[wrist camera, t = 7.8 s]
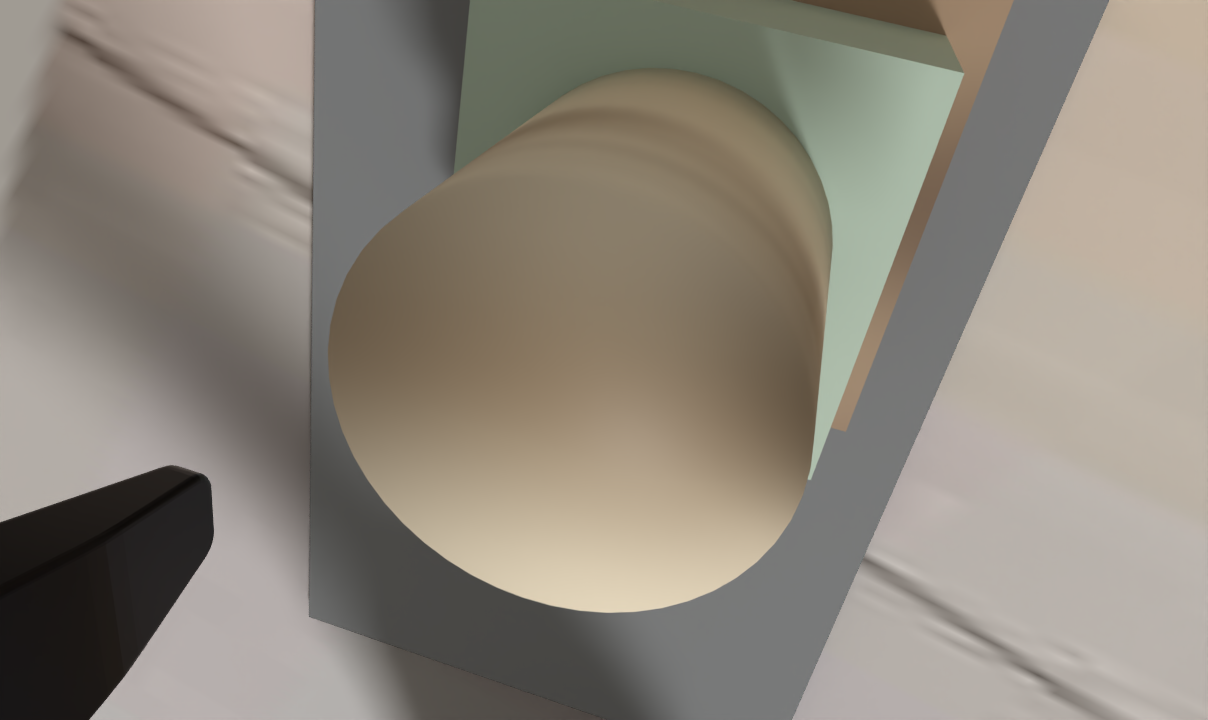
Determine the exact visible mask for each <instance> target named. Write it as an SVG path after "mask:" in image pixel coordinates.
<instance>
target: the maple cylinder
mask: <svg viewBox="0 0 1208 720" xmlns="http://www.w3.org/2000/svg"><path fill="white" fill-rule="evenodd" d="M832 250H833V238H832V221H831V215H830V209H829V204H828V200H827V197H826V194H825V191H824V187H823V184H822V181H821V179H820V177H819V175H818V173H817V170H816V168H815V166H814V164H813V162H812V160H811V158H810V157H809V155H808V154H807V152H806V151H805V149H804V148H803V146H802V145H801V143H800V142H799V140H798V139H797V138H796V136H795V135H794V134H793V133H792V132H791V131H790V130H789V129H788V127H787V126H786V125H785V124H784V123H783V122H782V121H781V120H780V119H779V118H778V117H777V116H776V115H774V114H773V113H772V112H771V111H770V110H769V109H768V108H766V107H765V106H764V105H763V104H761V103H760V102H758V101H757V100H755V99H754V98H752V97H751V96H749V95H748V94H746V93H745V92H743V91H741V90H739V89H737V88H735V87H733V86H731V85H729V84H726V83H724V82H722V81H720V80H717V79H714V78H711V77H708V76H705V75H701V74H698V73H694V72H688V71H683V70H677V69H667V68H642V69H632V70H624V71H620V72H616V73H612V74H608V75H604V76H601V77H598V78H596V79H593V80H591V81H588V82H586V83H584V84H581V85H579V86H578V87H576V88H574V89H573V90H571V91H569V92H567V93H566V94H564V95H562V96H561V97H559V98H558V99H557V100H555V101H554V102H553V103H551V104H550V105H548V106H547V107H546V108H544V109H543V110H542V111H540V112H539V113H537V114H536V115H535V116H533V117H532V118H531V119H529V120H528V121H526V122H525V123H524V124H522V125H521V126H519V127H518V128H517V129H515V130H514V131H513V132H511V133H510V134H508V135H507V136H506V137H504V138H503V139H502V140H500V141H499V142H497V143H496V144H495V145H493V146H492V147H491V148H489V149H488V150H486V151H485V152H484V153H482V154H481V155H480V156H478V157H477V158H475V159H474V160H473V161H471V162H470V163H469V164H467V165H466V166H464V167H463V168H462V169H460V170H459V171H457V172H456V173H455V174H453V175H452V176H451V177H449V178H448V179H446V180H445V181H444V182H442V183H441V184H440V185H438V186H437V187H435V188H434V189H433V190H431V191H430V192H429V193H427V194H426V195H424V196H423V197H422V198H420V199H419V200H418V201H416V202H415V203H413V204H412V205H411V206H409V207H408V208H407V209H405V210H404V211H403V212H401V213H400V214H399V215H398V216H396V217H395V218H394V219H393V220H391V221H390V222H389V223H388V224H386V225H385V226H384V227H383V228H381V229H380V231H379V232H378V233H377V234H376V235H375V236H374V237H373V238H372V240H371V241H370V242H369V243H368V244H367V245H366V246H365V247H364V248H363V250H362V251H361V253H360V254H359V256H358V257H357V259H356V261H355V262H354V264H353V265H352V267H351V268H350V270H349V272H348V273H347V275H346V278H345V280H344V283H343V285H342V287H341V290H340V292H339V294H338V297H337V300H336V304H335V308H334V312H333V316H332V320H331V324H330V333H329V343H328V367H329V380H330V386H331V391H332V397H333V402H334V407H335V410H336V413H337V416H338V419H339V422H340V426H341V429H342V432H343V434H344V436H345V438H346V441H347V443H348V445H349V447H350V449H351V452H352V454H353V456H354V458H355V459H356V461H357V463H358V465H359V466H360V468H361V470H362V471H363V473H364V475H365V476H366V478H367V480H368V481H369V483H370V484H371V485H372V487H373V488H374V489H375V491H376V492H377V493H378V495H379V496H380V497H381V499H382V500H383V502H384V503H385V504H386V505H387V506H388V507H389V508H390V509H391V511H392V512H393V513H394V514H395V515H396V516H397V517H398V518H399V519H400V521H401V522H402V523H403V524H404V525H405V526H406V527H408V528H409V529H410V530H411V531H412V532H413V533H414V534H415V535H416V536H417V537H419V538H420V539H421V540H422V541H423V542H424V543H425V544H427V545H428V546H429V547H431V548H432V549H433V550H435V551H436V552H437V553H439V554H440V555H441V556H443V557H444V558H445V559H447V560H448V561H450V562H451V563H453V564H455V565H456V566H458V567H459V568H461V569H463V570H464V571H466V572H468V573H469V574H471V575H473V576H475V577H477V578H479V579H481V580H483V581H485V582H487V583H489V584H491V585H493V586H495V587H497V588H499V589H502V590H504V591H507V592H510V593H512V594H515V595H517V596H520V597H523V598H526V599H529V600H533V601H536V602H540V603H544V604H547V605H551V606H556V607H562V608H567V609H573V610H578V611H591V612H604V613H616V612H638V611H645V610H652V609H659V608H664V607H668V606H672V605H676V604H679V603H683V602H687V601H690V600H692V599H695V598H697V597H700V596H702V595H705V594H707V593H710V592H712V591H714V590H716V589H718V588H720V587H721V586H723V585H725V584H727V583H728V582H730V581H732V580H734V579H735V578H737V577H738V576H739V575H741V574H742V573H743V572H745V571H746V570H747V569H749V568H750V567H751V566H752V565H754V564H755V563H756V562H757V561H758V560H759V559H760V558H761V557H762V556H763V555H764V554H765V553H766V552H767V551H768V550H769V549H770V548H771V547H772V546H773V545H774V544H775V543H776V541H777V540H778V538H779V537H780V535H781V534H782V533H783V531H784V530H785V528H786V527H787V525H788V524H789V522H790V521H791V519H792V517H793V515H794V513H795V511H796V509H797V507H798V505H799V502H800V500H801V498H802V496H803V493H804V490H805V486H806V483H807V479H808V476H809V472H810V469H811V461H812V453H813V444H814V435H815V425H816V414H817V404H818V394H819V384H820V373H821V363H822V353H823V342H824V332H825V322H826V311H827V301H828V291H829V281H830V270H831V260H832Z"/></svg>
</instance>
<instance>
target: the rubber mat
mask: <svg viewBox="0 0 1208 720" xmlns="http://www.w3.org/2000/svg"><path fill="white" fill-rule="evenodd" d="M1108 2H1109V0H1014V1H1013V4H1012V6H1011V9H1010V11H1009V14H1008V16H1007V19H1006V21H1005V24H1004V27H1003V29H1002V32H1001V34H1000V37H999V39H998V42H997V45H996V47H995V50H994V52H993V55H992V57H991V60H990V63H989V65H988V68H987V70H986V73H985V75H984V78H983V81H982V83H981V86H980V88H979V91H978V93H977V96H976V99H975V101H974V104H973V106H972V109H971V111H970V114H969V117H968V119H967V122H966V124H965V127H964V129H963V132H962V134H961V137H960V140H959V142H958V145H957V147H956V150H955V152H954V155H953V158H952V160H951V163H950V165H949V168H948V170H947V173H946V176H945V178H944V181H943V183H942V186H941V188H940V191H939V194H938V196H937V199H936V201H935V204H934V206H933V209H932V212H931V214H930V217H929V219H928V222H927V224H926V227H925V230H924V232H923V235H922V237H921V240H920V242H919V245H918V248H917V250H916V253H915V255H914V258H913V260H912V263H911V265H910V268H909V271H908V273H907V276H906V278H905V281H904V283H903V286H902V289H901V291H900V294H899V296H898V299H897V301H896V304H895V307H894V309H893V312H892V314H891V317H890V319H889V322H888V325H887V327H886V330H885V332H884V335H883V337H882V340H881V343H880V345H879V348H878V350H877V353H876V355H875V358H874V361H873V363H872V366H871V368H870V371H869V373H868V376H867V378H866V381H865V384H864V386H863V389H862V391H861V394H860V396H859V399H858V402H857V404H856V407H855V409H854V412H853V414H852V417H851V420H850V422H849V425H848V427H847V430H846V432H844V431H841V430H838V429H834V428H830V430H829V433H828V436H827V438H826V441H825V444H824V446H823V449H822V452H821V454H820V457H819V460H818V462H817V465H816V468H815V470H814V473H813V475H812V478H811V480H808V479H807V483H806V486H805V490H804V493H803V496H802V498H801V500H800V502H799V505H798V507H797V509H796V511H795V513H794V515H793V517H792V519H791V521H790V522H789V524H788V525H787V527H786V528H785V530H784V531H783V533H782V534H781V535H780V537H779V538H778V540H777V541H776V543H775V544H774V545H773V546H772V547H771V548H770V549H769V550H768V551H767V552H766V553H765V554H764V555H763V556H762V557H761V558H760V559H759V560H758V561H757V562H756V563H755V564H754V565H752V566H751V567H750V568H749V569H747V570H746V571H745V572H743V573H742V574H741V575H739V576H738V577H737V578H735V579H734V580H732V581H730V582H728V583H727V584H725V585H723V586H721V587H720V588H718V589H716V590H714V591H712V592H710V593H707V594H705V595H702V596H700V597H697V598H695V599H692V600H690V601H687V602H683V603H679V604H676V605H672V606H668V607H664V608H659V609H652V610H645V611H638V612H616V613H604V612H591V611H578V610H573V609H567V608H562V607H556V606H551V605H547V604H544V603H540V602H536V601H533V600H529V599H526V598H523V597H520V596H517V595H515V594H512V593H510V592H507V591H504V590H502V589H499V588H497V587H495V586H493V585H491V584H489V583H487V582H485V581H483V580H481V579H479V578H477V577H475V576H473V575H471V574H469V573H468V572H466V571H464V570H463V569H461V568H459V567H458V566H456V565H455V564H453V563H451V562H450V561H448V560H447V559H445V558H444V557H443V556H441V555H440V554H439V553H437V552H436V551H435V550H433V549H432V548H431V547H429V546H428V545H427V544H425V543H424V542H423V541H422V540H421V539H420V538H419V537H417V536H416V535H415V534H414V533H413V532H412V531H411V530H410V529H409V528H408V527H406V526H405V525H404V524H403V523H402V522H401V521H400V519H399V518H398V517H397V516H396V515H395V514H394V513H393V512H392V511H391V509H390V508H389V507H388V506H387V505H386V504H385V503H384V502H383V500H382V499H381V497H380V496H379V495H378V493H377V492H376V491H375V489H374V488H373V487H372V485H371V484H370V483H369V481H368V480H367V478H366V476H365V475H364V473H363V471H362V470H361V468H360V466H359V465H358V463H357V461H356V459H355V458H354V456H353V454H352V452H351V449H350V447H349V445H348V443H347V441H346V438H345V436H344V434H343V432H342V429H341V426H340V422H339V419H338V416H337V413H336V410H335V407H334V402H333V397H332V391H331V386H330V380H329V367H328V343H329V333H330V324H331V320H332V316H333V312H334V308H335V304H336V300H337V297H338V294H339V292H340V290H341V287H342V285H343V283H344V280H345V278H346V275H347V273H348V272H349V270H350V268H351V267H352V265H353V264H354V262H355V261H356V259H357V257H358V256H359V254H360V253H361V251H362V250H363V248H364V247H365V246H366V245H367V244H368V243H369V242H370V241H371V240H372V238H373V237H374V236H375V235H376V234H377V233H378V232H379V231H380V229H381V228H383V227H384V226H385V225H386V224H388V223H389V222H390V221H391V220H393V219H394V218H395V217H396V216H398V215H399V214H400V213H401V212H403V211H404V210H405V209H407V208H408V207H409V206H411V205H412V204H413V203H415V202H416V201H418V200H419V199H420V198H422V197H423V196H424V195H426V194H427V193H429V192H430V191H431V190H433V189H434V188H435V187H437V186H438V185H440V184H441V183H442V182H444V181H445V180H446V179H448V178H449V177H451V176H452V175H453V174H454V165H455V155H456V144H457V134H458V123H459V112H460V102H461V91H462V81H463V70H464V59H465V49H466V38H467V28H468V17H469V6H470V0H315V63H314V162H313V261H312V360H311V459H310V558H309V617H311V618H314V619H317V620H320V621H323V622H326V623H329V624H332V625H334V626H337V627H340V628H343V629H346V630H349V631H352V632H355V633H358V634H361V635H363V636H366V637H369V638H372V639H375V640H378V641H381V642H384V643H387V644H389V645H392V646H395V647H398V648H401V649H404V650H407V651H410V652H413V653H415V654H418V655H421V656H424V657H427V658H430V659H433V660H436V661H439V662H442V663H444V664H447V665H450V666H453V667H456V668H459V669H462V670H465V671H468V672H470V673H473V674H476V675H479V676H482V677H485V678H488V679H491V680H494V681H496V682H499V683H502V684H505V685H508V686H511V687H514V688H517V689H520V690H523V691H525V692H528V693H531V694H534V695H537V696H540V697H543V698H546V699H549V700H551V701H554V702H557V703H560V704H563V705H566V706H569V707H572V708H575V709H577V710H580V711H583V712H586V713H589V714H592V715H595V716H598V717H601V718H604V719H606V720H792V718H793V716H794V714H795V711H796V709H797V707H798V705H799V702H800V700H801V698H802V696H803V693H804V691H805V689H806V686H807V684H808V682H809V680H810V677H811V675H812V673H813V671H814V668H815V666H816V664H817V662H818V659H819V657H820V655H821V652H822V650H823V648H824V646H825V643H826V641H827V639H828V637H829V634H830V632H831V630H832V628H833V625H834V623H835V621H836V618H837V616H838V614H839V612H840V609H841V607H842V605H843V603H844V600H845V598H846V596H847V594H848V591H849V589H850V587H851V584H852V582H853V580H854V578H855V575H856V573H857V571H858V569H859V566H860V564H861V562H862V560H863V557H864V555H865V553H866V550H867V548H868V546H869V544H870V541H871V539H872V537H873V535H874V532H875V530H876V528H877V526H878V523H879V521H880V519H881V516H882V514H883V512H884V510H885V507H886V505H887V503H888V501H889V498H890V496H891V494H892V492H893V489H894V487H895V485H896V482H897V480H898V478H899V476H900V473H901V471H902V469H903V467H904V464H905V462H906V460H907V458H908V455H909V453H910V451H911V448H912V446H913V444H914V442H915V439H916V437H917V435H918V433H919V430H920V428H921V426H922V424H923V421H924V419H925V417H926V414H927V412H928V410H929V408H930V405H931V403H932V401H933V399H934V396H935V394H936V392H937V390H938V387H939V385H940V383H941V380H942V378H943V376H944V374H945V371H946V369H947V367H948V365H949V362H950V360H951V358H952V356H953V353H954V351H955V349H956V346H957V344H958V342H959V340H960V337H961V335H962V333H963V331H964V328H965V326H966V324H967V322H968V319H969V317H970V315H971V312H972V310H973V308H974V306H975V303H976V301H977V299H978V297H979V294H980V292H981V290H982V288H983V285H984V283H985V281H986V278H987V276H988V274H989V272H990V269H991V267H992V265H993V263H994V260H995V258H996V256H997V254H998V251H999V249H1000V247H1001V244H1002V242H1003V240H1004V238H1005V235H1006V233H1007V231H1008V229H1009V226H1010V224H1011V222H1012V220H1013V217H1014V215H1015V213H1016V210H1017V208H1018V206H1019V204H1020V201H1021V199H1022V197H1023V195H1024V192H1025V190H1026V188H1027V186H1028V183H1029V181H1030V179H1031V176H1032V174H1033V172H1034V170H1035V167H1036V165H1037V163H1038V161H1039V158H1040V156H1041V154H1042V152H1043V149H1044V147H1045V145H1046V142H1047V140H1048V138H1049V136H1050V133H1051V131H1052V129H1053V127H1054V124H1055V122H1056V120H1057V118H1058V115H1059V113H1060V111H1061V108H1062V106H1063V104H1064V102H1065V99H1066V97H1067V95H1068V93H1069V90H1070V88H1071V86H1072V84H1073V81H1074V79H1075V77H1076V74H1077V72H1078V70H1079V68H1080V65H1081V63H1082V61H1083V59H1084V56H1085V54H1086V52H1087V50H1088V47H1089V45H1090V43H1091V40H1092V38H1093V36H1094V34H1095V31H1096V29H1097V27H1098V25H1099V22H1100V20H1101V18H1102V16H1103V13H1104V11H1105V9H1106V6H1107V4H1108Z"/></svg>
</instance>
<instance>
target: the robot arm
mask: <svg viewBox="0 0 1208 720" xmlns="http://www.w3.org/2000/svg"><path fill="white" fill-rule="evenodd" d="M213 536H214V526H213V509H212V493H211V484H210V481H209V480H208V478H207V477H206V476H204V475H203V474H201V473H198V472H195V471H191V470H188V469H185V468H182V467H179V466H173V465H170V466H165V467H161V468H158V469H155V470H152V471H149V472H147V473H144V474H141V475H138V476H135V477H132V478H129V479H126V480H123V481H120V482H117V483H114V484H111V485H108V486H106V487H103V488H100V489H97V490H94V491H91V492H88V493H85V494H82V495H79V496H76V497H73V498H70V499H67V500H65V501H62V502H59V503H56V504H53V505H50V506H47V507H44V508H41V509H38V510H35V511H32V512H29V513H26V514H24V515H21V516H18V517H15V518H12V519H9V520H6V521H3V522H0V720H89V719H90V718H91V717H92V716H93V714H94V713H95V712H96V711H97V710H98V708H99V707H100V706H101V705H102V704H103V702H104V701H105V700H106V699H107V698H108V696H109V695H110V694H111V693H112V691H113V690H114V689H115V688H116V686H117V685H118V684H119V683H120V681H121V680H122V679H123V678H124V676H125V675H126V674H127V672H128V671H129V669H130V668H131V667H132V665H133V664H134V662H135V661H136V660H137V658H138V657H139V655H140V654H141V652H142V651H143V649H144V648H145V646H146V645H147V643H148V642H149V640H150V639H151V637H152V636H153V635H154V633H155V632H156V630H157V629H158V627H159V626H160V624H161V623H162V621H163V620H164V618H165V617H166V615H167V614H168V612H169V611H170V609H171V608H172V606H173V605H174V603H175V602H176V600H177V599H178V597H179V596H180V594H181V593H182V591H183V590H184V588H185V587H186V586H187V584H188V583H189V581H190V580H191V578H192V577H193V575H194V574H195V572H196V571H197V569H198V568H199V566H200V565H201V563H202V562H203V560H204V559H205V557H206V556H207V554H208V552H209V550H210V548H211V544H212V541H213Z"/></svg>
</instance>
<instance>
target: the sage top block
mask: <svg viewBox="0 0 1208 720" xmlns="http://www.w3.org/2000/svg"><path fill="white" fill-rule="evenodd" d="M642 68H667V69H677V70H683V71H688V72H694V73H698V74H701V75H705V76H708V77H711V78H714V79H717V80H720V81H722V82H724V83H726V84H729V85H731V86H733V87H735V88H737V89H739V90H741V91H743V92H745V93H746V94H748V95H749V96H751V97H752V98H754V99H755V100H757V101H758V102H760V103H761V104H763V105H764V106H765V107H766V108H768V109H769V110H770V111H771V112H772V113H773V114H774V115H776V116H777V117H778V118H779V119H780V120H781V121H782V122H783V123H784V124H785V125H786V126H787V127H788V129H789V130H790V131H791V132H792V133H793V134H794V135H795V136H796V138H797V139H798V140H799V142H800V143H801V145H802V146H803V148H804V149H805V151H806V152H807V154H808V155H809V157H810V158H811V160H812V162H813V164H814V166H815V168H816V170H817V173H818V175H819V177H820V179H821V181H822V184H823V187H824V191H825V194H826V197H827V200H828V204H829V209H830V215H831V221H832V238H833V250H832V260H831V270H830V281H829V291H828V301H827V311H826V322H825V332H824V342H823V353H822V363H821V373H820V384H819V394H818V404H817V414H816V425H815V435H814V444H813V453H812V461H811V469H810V472H809V476H808V480H811V478H812V475H813V473H814V470H815V468H816V465H817V462H818V460H819V457H820V454H821V452H822V449H823V446H824V444H825V441H826V438H827V436H828V433H829V430H830V428H831V425H832V423H833V420H834V417H835V415H836V412H837V409H838V407H839V404H840V401H841V399H842V396H843V393H844V391H845V388H846V385H847V383H848V380H849V378H850V375H851V372H852V370H853V367H854V364H855V362H856V359H857V356H858V354H859V351H860V348H861V346H862V343H863V340H864V338H865V335H866V332H867V330H868V327H869V325H870V322H871V319H872V317H873V314H874V311H875V309H876V306H877V303H878V301H879V298H880V295H881V293H882V290H883V287H884V285H885V282H886V280H887V277H888V274H889V272H890V269H891V266H892V264H893V261H894V258H895V256H896V253H897V250H898V248H899V245H900V242H901V240H902V237H903V235H904V232H905V229H906V227H907V224H908V221H909V219H910V216H911V213H912V211H913V208H914V205H915V203H916V200H917V197H918V195H919V192H920V190H921V187H922V184H923V182H924V179H925V176H926V174H927V171H928V168H929V166H930V163H931V160H932V158H933V155H934V152H935V150H936V147H937V145H938V142H939V139H940V137H941V134H942V131H943V129H944V126H945V123H946V121H947V118H948V115H949V113H950V110H951V107H952V105H953V102H954V100H955V97H956V94H957V92H958V89H959V86H960V84H961V81H962V78H963V76H964V71H963V69H962V67H961V65H960V63H959V61H958V59H957V57H956V55H955V53H954V50H953V48H952V46H951V44H950V42H949V40H948V38H947V36H945V35H941V34H936V33H932V32H928V31H923V30H919V29H915V28H910V27H906V26H902V25H897V24H893V23H888V22H884V21H880V20H875V19H871V18H867V17H862V16H858V15H853V14H849V13H845V12H840V11H836V10H832V9H827V8H823V7H819V6H814V5H810V4H805V3H801V2H797V1H792V0H470V6H469V17H468V28H467V38H466V49H465V59H464V70H463V81H462V91H461V102H460V112H459V123H458V134H457V144H456V155H455V165H454V174H455V173H456V172H457V171H459V170H460V169H462V168H463V167H464V166H466V165H467V164H469V163H470V162H471V161H473V160H474V159H475V158H477V157H478V156H480V155H481V154H482V153H484V152H485V151H486V150H488V149H489V148H491V147H492V146H493V145H495V144H496V143H497V142H499V141H500V140H502V139H503V138H504V137H506V136H507V135H508V134H510V133H511V132H513V131H514V130H515V129H517V128H518V127H519V126H521V125H522V124H524V123H525V122H526V121H528V120H529V119H531V118H532V117H533V116H535V115H536V114H537V113H539V112H540V111H542V110H543V109H544V108H546V107H547V106H548V105H550V104H551V103H553V102H554V101H555V100H557V99H558V98H559V97H561V96H562V95H564V94H566V93H567V92H569V91H571V90H573V89H574V88H576V87H578V86H579V85H581V84H584V83H586V82H588V81H591V80H593V79H596V78H598V77H601V76H604V75H608V74H612V73H616V72H620V71H624V70H632V69H642Z"/></svg>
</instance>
